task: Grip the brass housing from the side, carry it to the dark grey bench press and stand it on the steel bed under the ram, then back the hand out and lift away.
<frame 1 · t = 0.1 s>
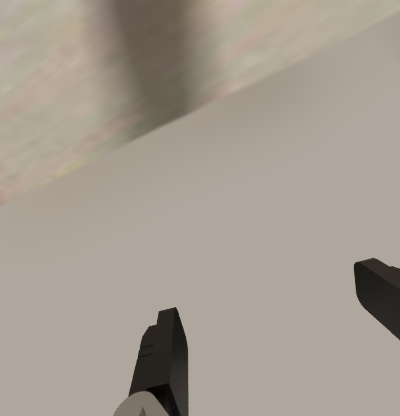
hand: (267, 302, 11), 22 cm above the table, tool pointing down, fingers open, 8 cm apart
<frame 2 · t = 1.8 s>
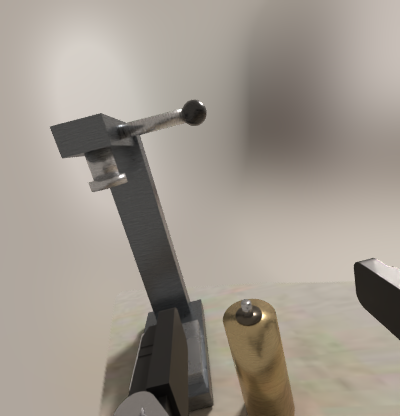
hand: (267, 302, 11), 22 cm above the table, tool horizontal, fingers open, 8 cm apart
press: (174, 369, 34), on the table
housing: (269, 405, 27), on the table
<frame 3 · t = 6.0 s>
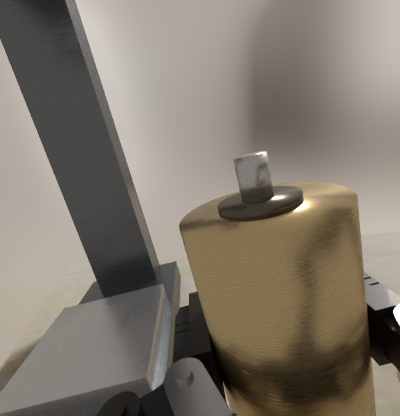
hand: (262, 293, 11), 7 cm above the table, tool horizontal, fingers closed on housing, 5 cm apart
press: (111, 372, 18), on the table
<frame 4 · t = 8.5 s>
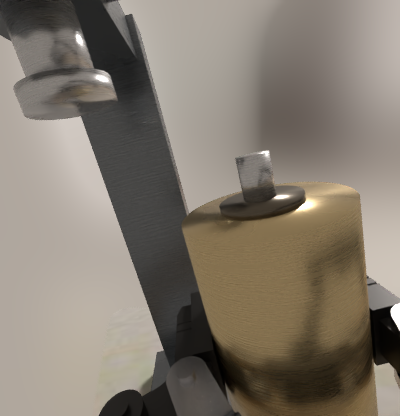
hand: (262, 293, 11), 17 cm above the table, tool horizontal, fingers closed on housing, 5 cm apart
when the fingers open (12 cm above the table, at t = 10.5 s): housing drops 1 cm, resting on press.
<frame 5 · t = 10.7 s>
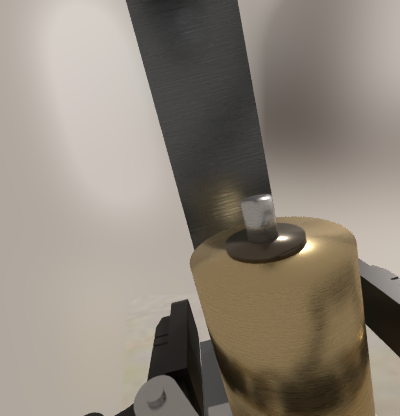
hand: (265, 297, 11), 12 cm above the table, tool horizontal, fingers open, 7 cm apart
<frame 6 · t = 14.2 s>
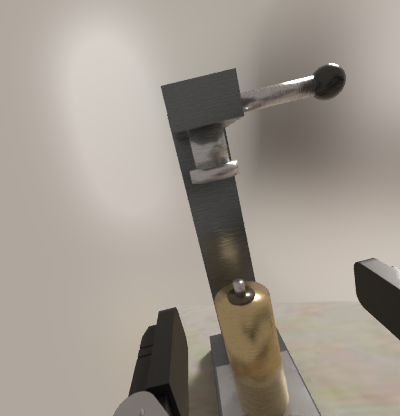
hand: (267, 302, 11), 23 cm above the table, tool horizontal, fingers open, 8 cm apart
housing: (262, 395, 26), point 4 cm above the table, touching press
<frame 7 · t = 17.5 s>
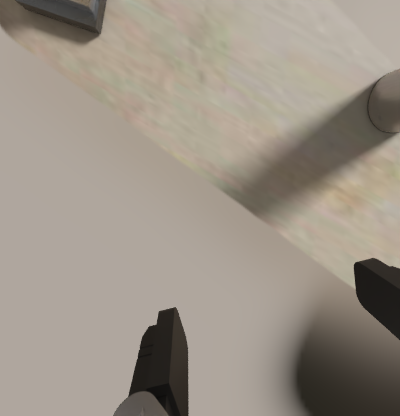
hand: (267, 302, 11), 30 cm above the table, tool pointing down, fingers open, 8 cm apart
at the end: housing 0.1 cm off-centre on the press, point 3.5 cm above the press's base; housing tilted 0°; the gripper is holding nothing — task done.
